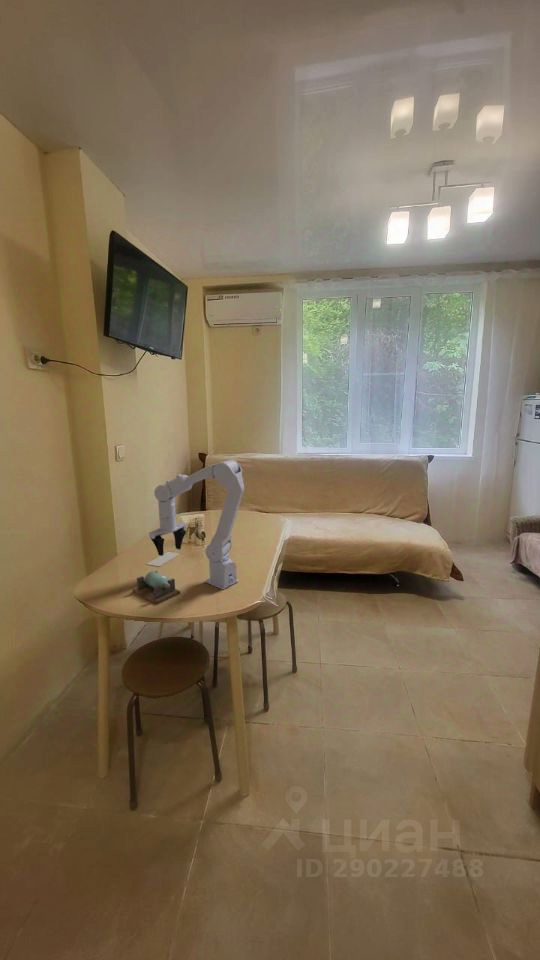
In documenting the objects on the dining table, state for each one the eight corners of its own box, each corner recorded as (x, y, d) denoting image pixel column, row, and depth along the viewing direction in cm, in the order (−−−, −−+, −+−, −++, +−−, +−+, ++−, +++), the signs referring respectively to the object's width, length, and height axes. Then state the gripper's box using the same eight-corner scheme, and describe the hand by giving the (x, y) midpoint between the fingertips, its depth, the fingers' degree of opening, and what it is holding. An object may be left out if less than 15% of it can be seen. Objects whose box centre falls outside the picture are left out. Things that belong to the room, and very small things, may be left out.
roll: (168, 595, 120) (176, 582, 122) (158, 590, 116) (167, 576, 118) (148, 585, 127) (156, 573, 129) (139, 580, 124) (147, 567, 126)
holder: (180, 593, 122) (179, 579, 121) (157, 604, 115) (156, 590, 114) (156, 581, 130) (155, 568, 130) (133, 591, 124) (132, 577, 123)
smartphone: (181, 553, 157) (159, 566, 143) (181, 554, 157) (159, 567, 143) (168, 551, 160) (145, 564, 146) (168, 552, 160) (145, 565, 146)
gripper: (177, 510, 139) (179, 544, 142) (143, 519, 128) (146, 555, 131) (188, 513, 135) (190, 548, 137) (154, 522, 124) (157, 560, 126)
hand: (169, 551), depth 134 cm, fingers open, 7 cm apart
